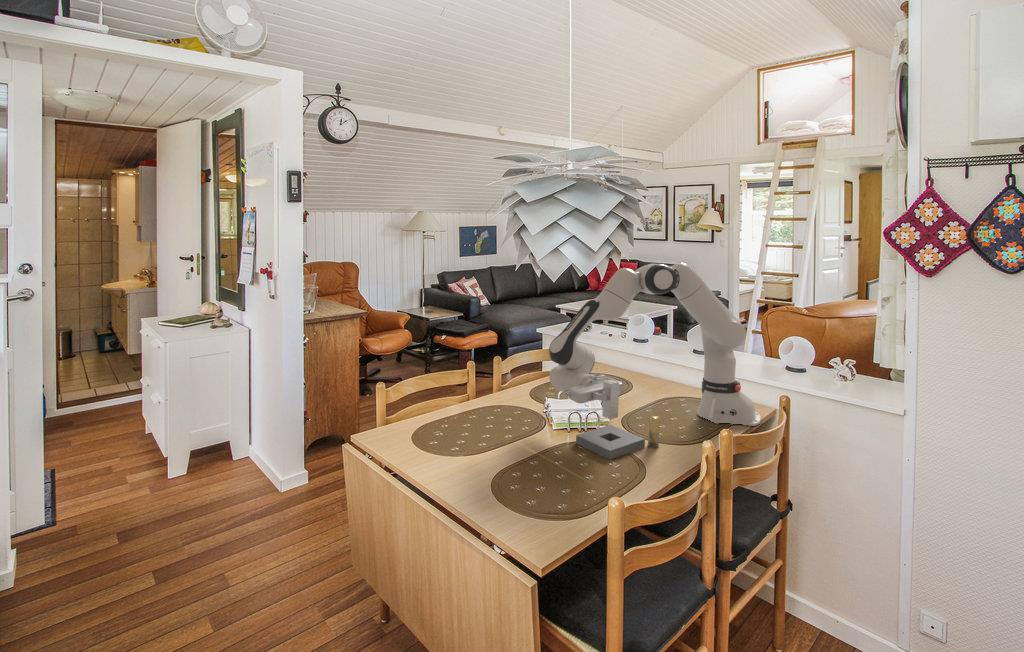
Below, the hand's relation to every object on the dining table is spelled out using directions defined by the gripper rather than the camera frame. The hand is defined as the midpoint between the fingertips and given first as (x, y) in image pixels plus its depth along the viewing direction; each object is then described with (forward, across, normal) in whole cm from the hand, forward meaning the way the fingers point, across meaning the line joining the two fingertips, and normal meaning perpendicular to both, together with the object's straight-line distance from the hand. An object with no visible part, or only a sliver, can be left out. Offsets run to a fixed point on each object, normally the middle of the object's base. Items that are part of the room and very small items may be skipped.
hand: (612, 397), depth 186 cm
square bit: (-1, 0, +7) cm, 7 cm away
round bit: (+8, +11, +17) cm, 22 cm away
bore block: (-1, 0, +17) cm, 17 cm away
